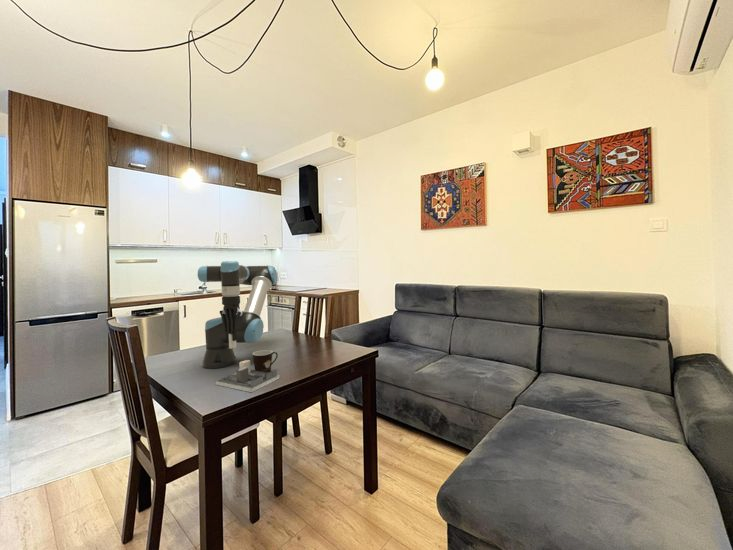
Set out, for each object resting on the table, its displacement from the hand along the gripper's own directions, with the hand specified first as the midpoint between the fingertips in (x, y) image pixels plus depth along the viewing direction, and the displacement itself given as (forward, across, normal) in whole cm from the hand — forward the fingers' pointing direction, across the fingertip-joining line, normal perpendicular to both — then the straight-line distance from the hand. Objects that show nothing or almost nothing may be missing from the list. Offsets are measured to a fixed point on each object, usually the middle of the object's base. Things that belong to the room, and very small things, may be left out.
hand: (232, 347), depth 142 cm
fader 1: (+11, +7, 0) cm, 13 cm away
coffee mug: (+13, +13, +7) cm, 19 cm away
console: (+12, +13, -4) cm, 18 cm away
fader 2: (+11, +14, -8) cm, 19 cm away
